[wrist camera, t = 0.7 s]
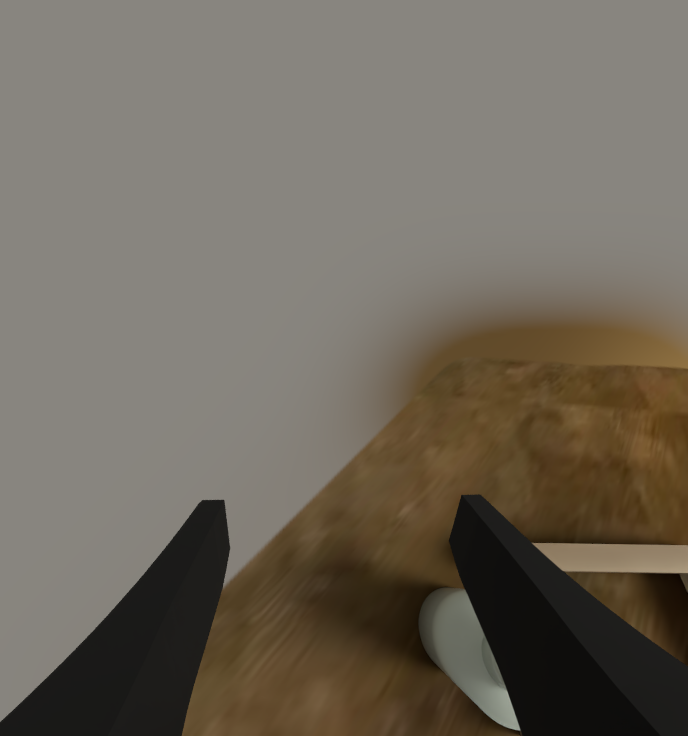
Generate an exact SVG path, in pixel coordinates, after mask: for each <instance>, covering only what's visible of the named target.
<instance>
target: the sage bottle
mask: <svg viewBox="0 0 688 736" xmlns="http://www.w3.org/2000/svg"><path fill="white" fill-rule="evenodd" d="M419 633H420V638H421V641H422V644H423V646H424V648H425V650H426V652H427V654H428V655H429V657H430V658H431V659H432V661H433V662H434V663H435V664H436V665H437V666H438V667H439V668H440V669H441V670H442V671H443V672H444V673H445V674H446V675H447V676H448V677H449V678H450V679H451V680H452V681H453V682H454V683H455V684H456V685H457V686H458V687H459V688H460V689H461V690H462V691H463V692H464V693H465V694H466V695H467V696H468V697H469V698H470V699H471V700H472V701H473V702H474V703H475V704H476V705H477V706H478V707H479V708H480V709H481V710H482V711H483V712H484V713H485V714H487V715H488V716H489V717H490V718H491V719H493V720H494V721H496V722H497V723H499V724H501V725H503V726H505V727H507V728H510V729H514V730H520V727H519V724H518V721H517V718H516V716H515V713H514V710H513V707H512V704H511V701H510V698H509V695H508V692H507V689H506V686H505V683H504V681H503V678H502V676H501V673H500V671H499V668H498V666H497V663H496V661H495V658H494V656H493V654H492V651H491V649H490V647H489V644H488V642H487V640H486V637H485V635H484V633H483V630H482V628H481V626H480V623H479V621H478V619H477V616H476V614H475V612H474V609H473V607H472V605H471V602H470V600H469V597H468V595H467V593H466V590H465V589H459V588H450V587H444V588H439V589H437V590H435V591H433V592H432V593H431V594H429V595H428V597H427V598H426V599H425V601H424V602H423V604H422V607H421V610H420V614H419ZM520 731H521V730H520Z"/></svg>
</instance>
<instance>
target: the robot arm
mask: <svg viewBox="0 0 688 736" xmlns="http://www.w3.org/2000/svg"><path fill="white" fill-rule="evenodd" d="M449 542H450V546H451V549H452V553H453V556H454V560H455V563H456V566H457V569H458V572H459V576H460V578H461V581H462V583H463V585H464V588H465V590H466V593H467V595H468V597H469V600H470V602H471V605H472V607H473V609H474V612H475V614H476V616H477V619H478V621H479V623H480V626H481V628H482V630H483V633H484V635H485V637H486V640H487V642H488V644H489V647H490V649H491V651H492V654H493V656H494V658H495V661H496V663H497V666H498V668H499V671H500V673H501V676H502V678H503V681H504V683H505V686H506V689H507V692H508V695H509V698H510V701H511V704H512V707H513V710H514V713H515V716H516V718H517V721H518V724H519V727H520V730H521V733H522V736H688V666H686V665H685V664H683V663H682V662H680V661H679V660H678V659H676V658H675V657H673V656H672V655H670V654H669V653H668V652H666V651H665V650H663V649H662V648H660V647H659V646H658V645H656V644H655V643H653V642H652V641H651V640H649V639H648V638H647V637H645V636H644V635H642V634H641V633H640V632H638V631H637V630H636V629H634V628H633V627H632V626H631V625H629V624H628V623H627V622H625V621H624V620H623V619H621V618H620V617H619V616H617V615H616V614H615V613H614V612H612V611H611V610H610V609H608V608H607V607H606V606H605V605H603V604H602V603H601V602H600V601H598V600H597V599H596V598H595V597H593V596H592V595H591V594H590V593H588V592H587V591H586V590H585V589H584V588H582V587H581V586H580V585H579V584H578V583H577V582H575V581H574V580H573V579H572V578H571V577H569V576H568V575H567V574H566V573H565V572H564V571H562V570H561V569H560V568H559V567H558V566H557V565H556V564H554V563H553V562H552V561H551V560H550V559H549V558H548V557H547V556H545V555H544V554H543V553H542V552H541V551H540V550H539V549H538V548H537V547H536V546H534V545H533V544H532V543H531V542H530V541H529V540H528V539H527V538H526V537H525V536H524V535H523V534H522V533H520V532H519V531H518V530H517V529H516V528H515V527H514V526H513V525H512V524H511V523H510V522H509V521H508V520H507V519H506V518H505V517H504V516H503V515H501V514H500V513H499V512H498V511H497V510H496V509H495V508H494V507H493V506H492V505H491V504H490V503H489V502H488V501H487V500H486V499H484V498H483V497H482V496H481V495H461V499H460V503H459V506H458V510H457V514H456V517H455V521H454V525H453V528H452V532H451V535H450V539H449ZM229 551H230V545H229V536H228V527H227V519H226V511H225V503H224V500H202V501H201V502H200V503H199V504H198V506H197V507H196V508H195V510H194V511H193V512H192V514H191V515H190V516H189V518H188V519H187V520H186V522H185V523H184V524H183V526H182V527H181V528H180V530H179V531H178V532H177V534H176V535H175V536H174V537H173V539H172V540H171V541H170V543H169V544H168V545H167V546H166V548H165V549H164V550H163V551H162V553H161V554H160V555H159V556H158V558H157V559H156V560H155V561H154V562H153V564H152V565H151V566H150V567H149V569H148V570H147V571H146V572H145V574H144V575H143V576H142V577H141V578H140V579H139V581H138V582H137V583H136V584H135V585H134V586H133V587H132V588H131V590H130V591H129V592H128V593H127V594H126V595H125V596H124V598H123V599H122V600H121V601H120V602H119V603H118V604H117V606H116V607H115V608H114V609H113V610H112V611H111V612H110V613H109V614H108V616H107V617H106V618H105V619H104V620H103V621H102V622H101V623H100V624H99V625H98V626H97V627H96V629H95V630H94V631H93V632H92V633H91V634H90V635H89V636H88V637H87V638H86V639H85V640H84V641H83V642H82V643H81V644H80V645H79V646H78V647H77V648H76V650H75V651H73V652H72V653H71V654H70V655H69V656H68V657H67V658H66V659H65V661H64V662H63V663H62V664H60V665H59V666H58V667H57V668H56V669H55V670H54V671H53V672H52V673H51V674H50V675H49V676H48V677H47V678H46V679H45V680H44V681H43V682H42V683H41V684H40V685H39V686H38V687H37V688H36V689H35V690H34V691H33V692H32V693H31V694H30V695H29V696H28V697H26V698H25V699H24V700H23V701H22V702H21V703H20V704H19V705H18V706H17V707H16V708H15V709H14V710H13V711H12V712H11V713H10V714H8V715H7V716H6V717H5V718H4V719H3V720H2V721H1V722H0V736H182V731H183V727H184V722H185V718H186V713H187V709H188V705H189V702H190V698H191V694H192V690H193V686H194V683H195V680H196V676H197V673H198V669H199V666H200V663H201V659H202V656H203V653H204V649H205V646H206V642H207V639H208V636H209V632H210V629H211V626H212V622H213V619H214V615H215V612H216V609H217V605H218V602H219V598H220V595H221V591H222V588H223V583H224V578H225V573H226V568H227V561H228V557H229Z"/></svg>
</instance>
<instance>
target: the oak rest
mask: <svg viewBox="0 0 688 736" xmlns="http://www.w3.org/2000/svg"><path fill="white" fill-rule="evenodd" d="M532 544H533V545H534V546H536V547H537V548H538V549H539V550H540V551H541V552H542V553H543V554H544V555H545V556H547V557H548V558H549V559H550V560H551V561H552V562H553V563H554V564H556V565H557V566H558V567H559V568H560V569H561V570H562V571H564V572H600V573H660V574H679V575H680V577H681V579H682V581H683V583H684V586H685V588H686V590H687V592H688V545H629V544H565V543H532ZM519 731H520V730H519ZM520 736H522V733H521V731H520Z"/></svg>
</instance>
